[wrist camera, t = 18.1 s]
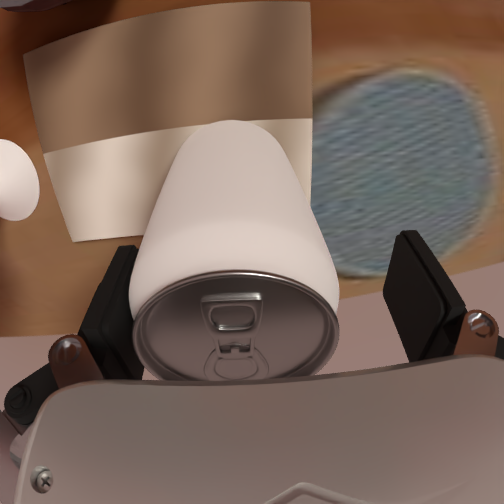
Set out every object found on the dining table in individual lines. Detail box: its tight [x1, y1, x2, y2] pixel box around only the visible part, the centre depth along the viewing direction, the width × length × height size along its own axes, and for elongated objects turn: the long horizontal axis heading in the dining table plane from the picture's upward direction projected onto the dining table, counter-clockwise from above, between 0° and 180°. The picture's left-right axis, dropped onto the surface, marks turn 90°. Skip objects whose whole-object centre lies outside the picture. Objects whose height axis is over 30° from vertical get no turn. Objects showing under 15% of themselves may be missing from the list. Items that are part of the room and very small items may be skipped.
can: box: [129, 120, 339, 381], centre depth 13 cm, size 6×6×12 cm
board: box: [23, 1, 312, 242], centre depth 17 cm, size 16×13×1 cm
